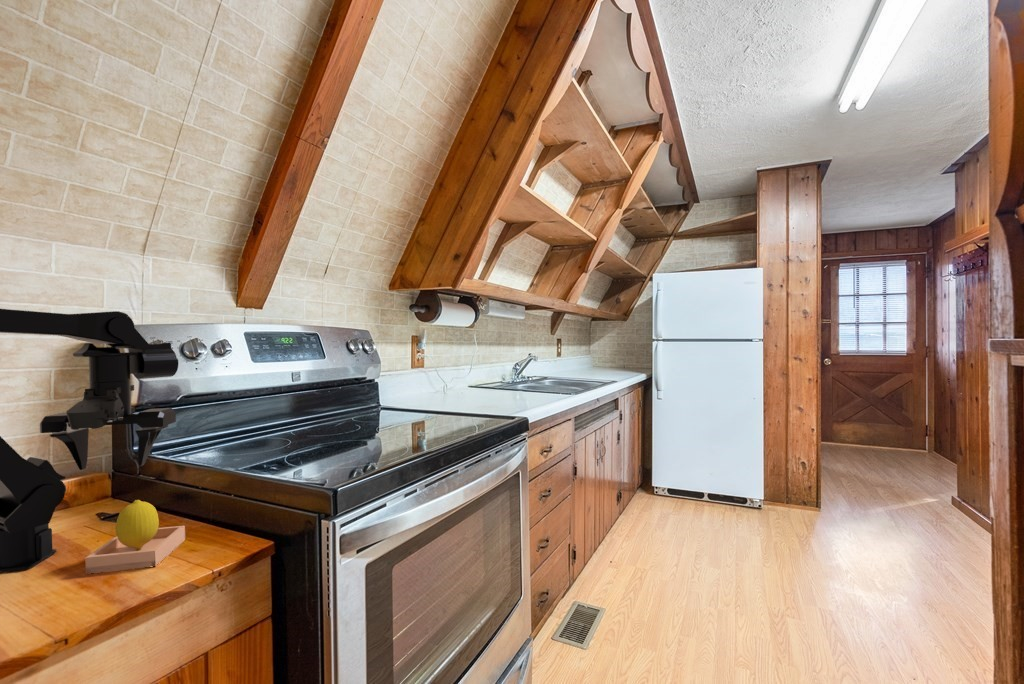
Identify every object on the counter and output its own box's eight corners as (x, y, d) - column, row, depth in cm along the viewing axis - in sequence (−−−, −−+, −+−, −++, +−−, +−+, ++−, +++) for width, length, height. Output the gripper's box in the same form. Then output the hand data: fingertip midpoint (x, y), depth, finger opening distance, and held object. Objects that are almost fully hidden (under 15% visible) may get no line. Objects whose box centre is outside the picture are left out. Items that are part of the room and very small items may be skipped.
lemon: (109, 553, 78) (108, 503, 78) (148, 540, 83) (147, 492, 83) (127, 559, 76) (125, 507, 75) (166, 545, 80) (165, 497, 80)
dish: (85, 574, 73) (85, 557, 73) (124, 545, 83) (124, 531, 83) (155, 567, 75) (155, 550, 75) (185, 539, 85) (184, 525, 85)
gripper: (13, 387, 79) (16, 484, 79) (146, 383, 83) (148, 475, 83) (61, 381, 89) (63, 467, 90) (176, 378, 93) (178, 459, 94)
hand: (112, 467), depth 89 cm, fingers open, 9 cm apart
